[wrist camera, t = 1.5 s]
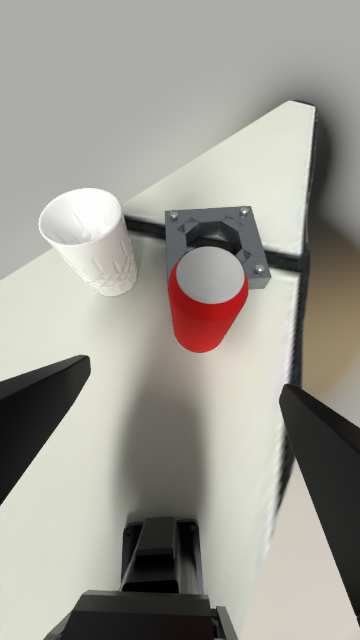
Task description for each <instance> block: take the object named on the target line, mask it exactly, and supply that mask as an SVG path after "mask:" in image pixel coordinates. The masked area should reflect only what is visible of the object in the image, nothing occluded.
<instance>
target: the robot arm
mask: <svg viewBox="0 0 360 640" xmlns="http://www.w3.org/2000/svg"><path fill="white" fill-rule="evenodd" d="M90 373H91V367H90V358H89V356H86V355H77V356H74V357H72V358H69V359H66V360H63V361H60V362H57V363H54V364H51V365H48V366H45V367H42V368H39V369H36V370H33V371H30V372H27V373H24V374H21V375H18V376H16V377H13V378H10V379H7V380H4V381H1V382H0V505H1V504H2V503H3V501H4V500H5V499H6V497H7V496H8V494H9V493H10V492H11V490H12V489H13V487H14V486H15V485H16V483H17V482H18V480H19V479H20V478H21V476H22V475H23V473H24V472H25V471H26V469H27V468H28V466H29V465H30V464H31V462H32V461H33V459H34V458H35V457H36V455H37V454H38V452H39V451H40V450H41V448H42V447H43V445H44V444H45V443H46V441H47V440H48V438H49V437H50V436H51V434H52V433H53V432H54V430H55V429H56V427H57V426H58V425H59V423H60V422H61V420H62V419H63V418H64V416H65V415H66V413H67V412H68V411H69V409H70V408H71V406H72V405H73V403H74V402H75V400H76V398H77V397H78V395H79V393H80V391H81V390H82V388H83V386H84V385H85V383H86V381H87V379H88V378H89V376H90ZM279 404H280V408H281V412H282V416H283V419H284V423H285V427H286V431H287V434H288V438H289V441H290V443H291V446H292V449H293V451H294V454H295V457H296V459H297V462H298V465H299V467H300V470H301V473H302V475H303V478H304V481H305V483H306V486H307V488H308V491H309V494H310V496H311V499H312V501H313V504H314V507H315V510H316V512H317V514H318V518H319V520H320V523H321V525H322V528H323V531H324V533H325V536H326V539H327V541H328V544H329V547H330V549H331V552H332V555H333V557H334V560H335V562H336V565H337V568H338V570H339V573H340V576H341V578H342V581H343V584H344V586H345V589H346V592H347V594H348V597H349V600H350V602H351V605H352V607H353V610H354V613H355V615H356V616H357V621H358V624H359V627H360V428H359V427H357V426H356V425H354V424H353V423H351V422H350V421H348V420H347V419H345V418H344V417H342V416H341V415H340V414H338V413H336V412H335V411H333V410H332V409H331V408H329V407H328V406H326V405H325V404H323V403H322V402H320V401H319V400H317V399H315V398H314V397H313V396H311V395H310V394H308V393H307V392H305V391H304V390H302V389H301V388H299V387H298V386H296V385H294V384H285V385H284V386H283V389H282V392H281V395H280V398H279ZM192 525H194V526H195V530H191V529H190V527H191V526H192ZM128 529H130V530H131V531H132V534H128V532H127V530H128ZM43 640H238V638H237V636H236V633H235V631H234V628H233V626H232V623H231V620H230V618H229V615H228V613H227V610H226V608H225V607H222V606H216V609H210V602H209V598H208V595H203V583H202V569H201V554H200V540H199V527H198V523H197V521H196V520H195V519H182V520H176V519H175V517H162V518H147V519H146V520H145V522H135V523H128V524H127V525H126V527H125V529H124V532H123V549H122V572H121V587H120V589H119V591H99V590H88V591H86V592H85V593H83V594H82V595H81V597H80V599H79V600H78V602H77V604H76V605H75V607H74V608H73V610H72V611H71V612H70V613H69V614H68V615H67V616H66V617H65V618H64V619H63V620H62V621H61V622H60V623H58V624H57V625H56V626H55V627H54V628H53V629H52V630H51V631H50V632H49V633H48V634H47V636H46V637H45V638H44V639H43Z"/></svg>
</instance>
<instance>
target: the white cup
mask: <svg viewBox="0 0 360 640" xmlns="http://www.w3.org/2000/svg"><path fill="white" fill-rule="evenodd" d="M39 230H40V232H41V234H42V236H43V237H44V238H45V239H46V240H47V241H48V242H49V243H50V244H51V245H52V246H53V248H54V249H55V250H56V251H57V252H58V253H59V254H60V255H61V256H62V257H63V258H64V259H65V260H66V262H67V263H68V264H69V265H70V266H71V267H72V268H73V269H74V270H75V271H76V272H77V273H78V274H79V275H80V276H81V277H82V278H83V279H84V280H85V281H86V282H87V283H88V284H89V285H90V286H91V287H92V288H93V289H94V290H95V291H97V292H98V293H100V294H101V295H105V296H112V297H113V296H117V295H121V294H124V293H125V292H127V291H128V290H130V289H131V288H132V287H133V285H134V284H135V282H136V280H137V272H138V270H137V266H136V263H135V258H134V253H133V250H132V245H131V241H130V237H129V234H128V230H127V227H126V223H125V220H124V216H123V212H122V209H121V205H120V203H119V201H118V200H117V198H116V197H115V196H113V195H112V194H110V193H109V192H107V191H104V190H101V189H95V188H83V189H77V190H72V191H69V192H67V193H64V194H62V195H60V196H58V197H57V198H55V199H54V200H52V201H51V202H50V203H49V204H48V205H47V206H46V207H45V208H44V210H43V211H42V213H41V216H40V218H39Z"/></svg>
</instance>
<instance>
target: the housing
mask: <svg viewBox="0 0 360 640" xmlns="http://www.w3.org/2000/svg"><path fill="white" fill-rule="evenodd" d="M165 224H166V251H167V277H168V281H169V276H170V273H171V271H172V269H173V267H174V266H175V264H176V263H177V262H178V261H179V260H180V259H181V258H182V257H183V256H184V255H185V254H186V253H188V252H187V247H186V246H187V245H188V244H190V243H191V242H192V241H193V240H194V239H195V238H196V237H197V236H203V235H219V236H221V237H223V238H224V239H226V240H228V241H229V242H231V243H233V244H234V246H235V251H236V255H235V256H236V257H237V258H238V259H239V261H240V262H241V264H242V266H243V268H244V270H245V273H246V275H247V279H248V289H262V288H265V286H266V285H267V283H268V282H269V280H270V279H271V274H270V271H269V267H268V264H267V260H266V257H265V253H264V250H263V246H262V243H261V240H260V236H259V233H258V229H257V226H256V222H255V219H254V215H253V212H252V209H251V206H242V207H225V208H208V209H191V210H172V211H165Z"/></svg>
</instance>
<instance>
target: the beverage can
mask: <svg viewBox="0 0 360 640" xmlns="http://www.w3.org/2000/svg"><path fill="white" fill-rule="evenodd" d="M168 293H169V300H170V307H171V314H172V321H173V328H174V333H175V336H176V338H177V340H178V342H179V343H180V344H181V345H182V346H183V347H184V348H186V349H188V350H190V351H192V352H197V353H203V352H207V351H210V350H212V349H214V348H216V347H217V346H218V345H219V344H220V343H221V341H222V339H223V338H224V336H225V335H226V333H227V331H228V330H229V328H230V327H231V325H232V323H233V322H234V320H235V319H236V317H237V315H238V314H239V312H240V310H241V309H242V307H243V306H244V304H245V302H246V299H247V295H248V279H247V275H246V273H245V270H244V268H243V266H242V264H241V262H240V261H239V259H238V258H237V257H236V256H235V255H233V254H232V253H231V252H229V251H227V250H225V249H222V248H219V247H214V246H203V247H198V248H195V249H193V250H191V251H189V252H188V253H186V254H185V255H184V256H183V257H182V258H181V259H180V260H179V261H178V262H177V263H176V264H175V266H174V267H173V269H172V271H171V273H170V276H169V281H168Z"/></svg>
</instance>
